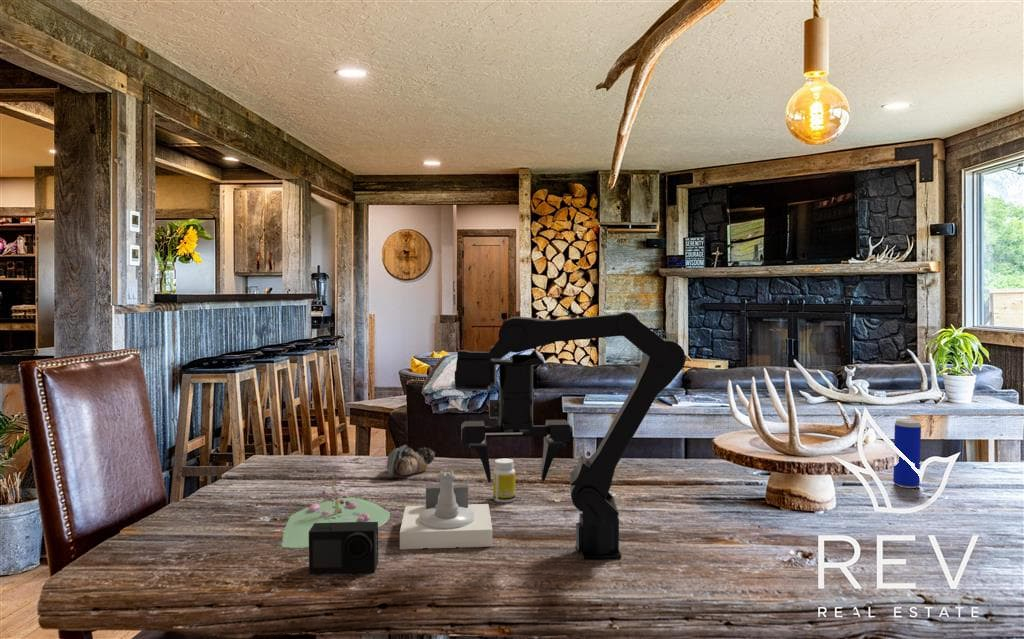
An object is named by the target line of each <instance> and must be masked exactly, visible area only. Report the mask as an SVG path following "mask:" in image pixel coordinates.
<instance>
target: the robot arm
mask: <svg viewBox="0 0 1024 639" xmlns="http://www.w3.org/2000/svg"><path fill="white" fill-rule="evenodd" d="M497 336H498V340H497V342H496V343H495V344H494V345H492V346H490V349H489V351H470V350H467V349H465V350H463V349H462V350H458V351H457V353H456V354H457V358H456V366H455V371H454V385H455V390H456V391H490V387H492V385H497V366H499V399H489V400H488V417H489V419H490V420H491V419H492V420H494V419H496V420H497V423H498V425H487V426H486V425H485V421H484V420H465V421H463V422H462V423H461V426H460V427H461V428H460V431H461V432H460V434H461V435H460V437H461V444H464V445H468V447H469V449H471V450H472V449H473V450H475V451H476V452H477V455H478V458H479V459H480V462H481V464H482V467H483V471H484V473H485V476H486V479H487V483H491V480H492V475H491V465H490V459H489V452H488V451H489V450H488V445H487V439H486V438H512V437H513V438H517V437H518V438H519V437H525V438H526V437H528V438H529V437H530V438H531V437H543V448H542V449H543V451H542V458H541V459H542V460H541V468H540V473H541V474H540V476H541V477H540V478H541V479H540V480H541V482H545V481H546V477H547V475H548V474H549V470H550V467H551V465H552V462H553V460H554V459H555V456H556V455H557V453H558V451H559V449H560V448H565V446H566V443H572V442H573V441H574V434H573V432H574V431H573V430H574V429H573V427H572V425H571V424H570V423H569V422H568V421H567V420H566V419H545V424H543V425H542V424H541V425H540V424H539V425H537V424H536V425H534V366H543V365H544V362H545V361H544V360H545V359H544V358H543V357H541V356H540V355H539V354H538V352H537V350H536V348H540V347H543V346H545V345H548V344H551V343H557V342H559V343H560V342H566V341H567V342H569V341H578V340H580V341H581V340H589V339H599V338H601V339H602V338H611V337H613V338H614V337H624V338H625V339H627V341H629V342H630V344H633V346H634V347H636V348H637V349H638V350H639V351H641V353H643V356H642V358H641V362H640V364H639V369H638V372H637V376H636V380H635V383H634V385H633V387H632V388H631V390H630V392H629V393H628V395H627V397H626V398H625V400H624V402H623V404H622V406H621V407H620V409H619V411H618V412H617V414H616V416H615V418H614V420H613V421H612V423H611V425H610V426H609V428H608V429H607V431H606V433H605V435H604V436H603V438H602V440H601V442H600V444H599V445H598V447H597V449H596V451H595V452H594V453H593V454H591V456H590V457H589V458H586V456H585V457H584V455H580V457H579V459H578V461H577V465H576V466H575V468H574V469H573V470H572V471H571V472H570V473H569V478H570V483H569V488H570V497H571V502H572V504H573V506H574V507H575V508H576V509H577V510H578V511H579V512H581V513H579V521H578V522H576V524H575V546H576V548H577V550H578V552H580V554H581V556H582V558H583V559H585V560H589V559H590V560H594V559H619V558H622V555H623V554H622V553H621V551H620V518H619V511H618V507H617V504H616V501H615V497H614V496H613V494H611V493H610V489H611V487H612V486H611V485H612V482H613V478H614V475H615V470H616V468H617V466H618V463H619V462H620V460H621V459H622V457H623V455H624V454H625V452H626V450H627V448H628V446H629V445H630V443H631V442H632V439H633V438H634V436H635V434H636V432H637V430H638V429H639V427H640V426H641V424H642V422H643V420H644V419H645V417H646V415H647V414H648V412H649V410H650V409H651V406H652V405H653V403H654V401H655V399H656V398H657V396H658V395H659V394H660V393H661V392H663V390H664V389H666V388H667V387H668V386H669V385H670V384H671V383H672V382H673V381H674V379H675V378H677V376H678V374H680V373H681V371H682V370H683V369H684V366H685V364H686V360H687V359H686V353H685V350H684V349H683V348H682V346H681V345H680V344H679V343H677V342H675V341H674V340H673V341H672V340H671V339H667V338H666V337H665V338H662V337H660V336H659V335H658V334H657V333H655V332H654V331H652V330H651V329H650V328H649V327H648V326H646V325H645V324H644V323H642V321H640V320H639V319H638V317H637V316H636V315H635V314H633V313H631V312H629V311H621V312H619V313H614V314H612V313H611V314H605V315H604V314H602V315H592V316H582V317H569V318H561V319H559V318H558V319H548V318H547V319H546V318H537V317H529V316H528V317H527V316H526V317H525V316H514V317H509V318H508V319H507V320H505V321H504V322H503V323H502V324H501V326H500V327H499V330H498V335H497ZM528 350H532V351H531V352H530V354H518V353H522V352H525V351H528ZM509 353H515V354H512V358H511V359H502V358H503V357H504V356H506V355H507V354H509ZM516 353H517V354H516Z"/></svg>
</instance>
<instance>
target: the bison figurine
mask: <svg viewBox="0 0 1024 639" xmlns="http://www.w3.org/2000/svg"><path fill="white" fill-rule="evenodd" d="M435 454H436V452H435V451H433V450H432V449H431V448H430V447H423V448H422V447H418V448H417V451H415V450H414V449H413V448H411V447H410V446H408V445H407V444H404V445H400V446H399V447H396V448H394V449H393V450H392V451H391V452H390V453H389V454H388V456H387V461H386V462H387V463H386V469H387V472H388V474H389V475H390V476H398V475H399V476H408V475H414V474H419V473H422V472H424V471H426V469H428V465H429V464H431V463H432V462H434V460H435Z"/></svg>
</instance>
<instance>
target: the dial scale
mask: <svg viewBox="0 0 1024 639" xmlns="http://www.w3.org/2000/svg"><path fill="white" fill-rule="evenodd" d="M453 491H454V497H455V500H456V503H457V504H458V506H459V508H458V509H457V510H458V511H459V513H458V515H457V516H456V517H453V518H439V517H437V516H436V514H435V511H436V509H435V506H436V504H437V503H438V500H439V495H440V486H439V484H431V485H430V484H426V486H425V505H407V506H405V507H404V511H403V516H402V522H401V526H400V530H399V550H421V549H423V548H428V549H448V548H449V549H451V548H452V549H453V548H456V547H459V548H484V547H486V548H487V547H488V548H489V547H493V525H492V524H493V523H492V520H491V519H492V518H491V512H490V505H489V503H480V504H479V503H475V504H472V503H471V504H469V485H468V483H467V484H466V483H465V484H464V483H463V484H454V486H453Z"/></svg>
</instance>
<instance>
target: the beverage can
mask: <svg viewBox="0 0 1024 639" xmlns="http://www.w3.org/2000/svg"><path fill="white" fill-rule="evenodd" d="M921 438H922V424H921V422H920V421H919V420H915V419H909V418H897V419H896V420H895V422H894V439H893V440H894V441H893V442H894V444H893V445H895V446H896V447H897V448H898V449H899V450H900V451H901V452H902V453H903V454H904V455H905V456H906V457H907V458H908V459H909V460H910V461H911V462H913V463H915V467H916V468H917V469H920V470H921V444H922V442H921V440H922V439H921ZM919 463H920V464H919ZM892 474H893V475H892V476H893V478H892V479H893V484H894V485H895V484H896V485H898V486H902V487H908V488H916V487H917V488H919V486H920V479H921V477H920V478H919V476H918V474H917V473H916V472H915V471H914V470H913V469H912V468H911V466H910V465H909V464H908V463H907V462H906V461H905V460H903V459H902V458H901V457H899V463H898V464H897V465H896V466H894V465H893V473H892ZM896 485H895V486H896ZM898 486H897V487H898ZM917 488H916V489H917Z"/></svg>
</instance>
